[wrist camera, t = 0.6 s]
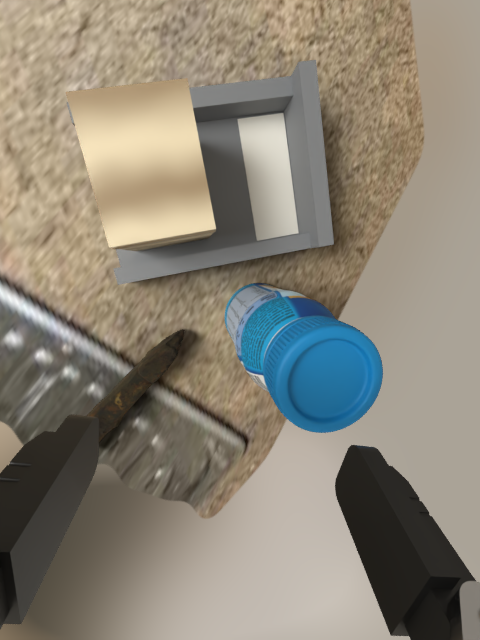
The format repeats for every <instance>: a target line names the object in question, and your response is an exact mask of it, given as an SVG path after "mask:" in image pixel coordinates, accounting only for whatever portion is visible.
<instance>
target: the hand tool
mask: <svg viewBox="0 0 480 640" xmlns="http://www.w3.org/2000/svg"><path fill="white" fill-rule="evenodd" d="M184 331H185V330H183V329H182V330H179V331H177V332H175V333H174V334H172V335H171V336H169V337H167V338H166V339H164V340H163V341H162V342H160V343H159V344H158V345H157V346H156V347H154V348H153V349H152V350H150V351H149V352H148V353H147V354H146V356H145V357H144V358H143V359H142V360H141V361H140V362H139V363H138V364H137V365H136V366H135V367H134V368H133V369H132V370H131V371H130V372H129V373H128V374H127V375H126V376H125V377H124V378H123V379H122V380H121V381H120V382H119V383H118V384H117V385H116V386H115V387H114V389H113V390H112V391H111V392H110V393H109V394H108V395H107V396H106V397H105V398H104V399H102V400H101V402H99V403H98V404H97V405H96V406H95V407H94V408H93V410H92V411H91V412H90V413H89V414H88V415H87V416H91V417H97V418H98V419H99V442H100V441H101V440H102V438H103V437H104V436H105V435H106V434H107V433H108V432H110V431H111V430H113V429H114V427H117V426H119V424H120V423H121V420H122V418H123V415H124V414H125V413H126V412H127V411H128V410H129V409H130V408H131V407H132V406H133V405H134V404H135V402H136V401H137V400H138V399H139V398H140V397H141V395H142V394H143V393H144V392H145V391H146V390H147V389H148V388H149V387H150V386H151V385H152V384H153V383H155V382H156V381H157V380H158V379H159V378H160V377H161V376H162V375H163V373H164V372H165V371H166V370H167V369H168V368H169V366H170V365H171V363H172V362H173V360H174V359H175V357H176V356H177V354H178V350H179V348H180V346H181V341H182V339H183V337H184Z"/></svg>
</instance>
